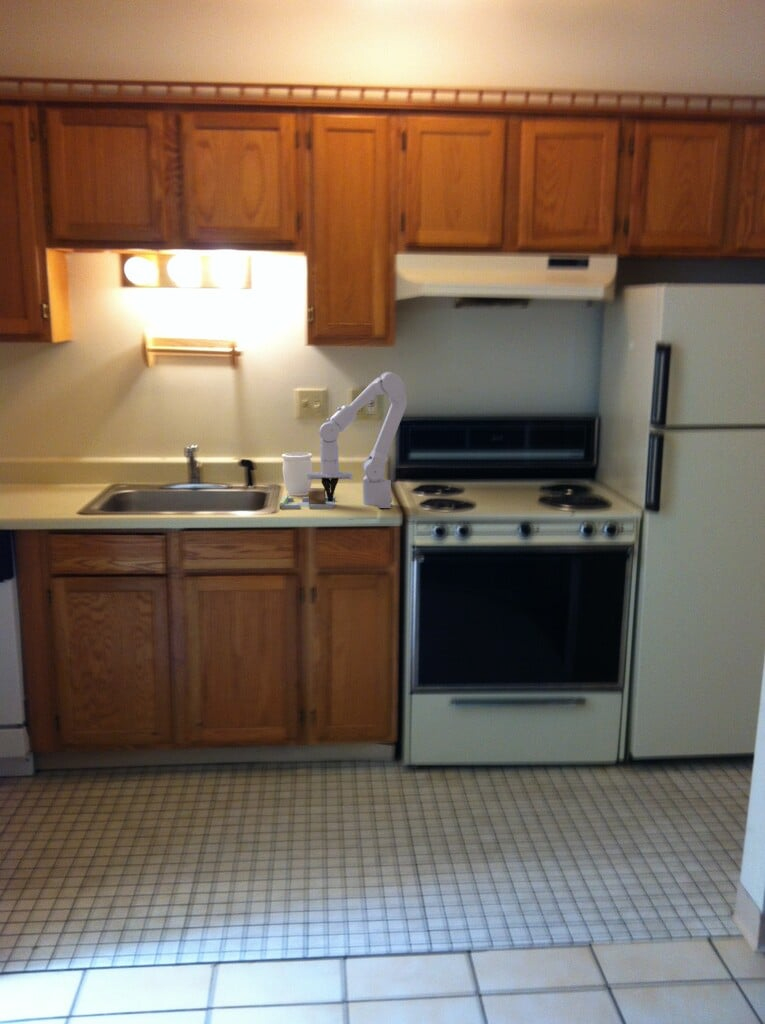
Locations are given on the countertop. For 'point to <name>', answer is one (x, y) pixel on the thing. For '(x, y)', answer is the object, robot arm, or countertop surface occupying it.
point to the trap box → (304, 503)
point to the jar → (297, 472)
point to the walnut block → (317, 496)
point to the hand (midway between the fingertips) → (330, 501)
